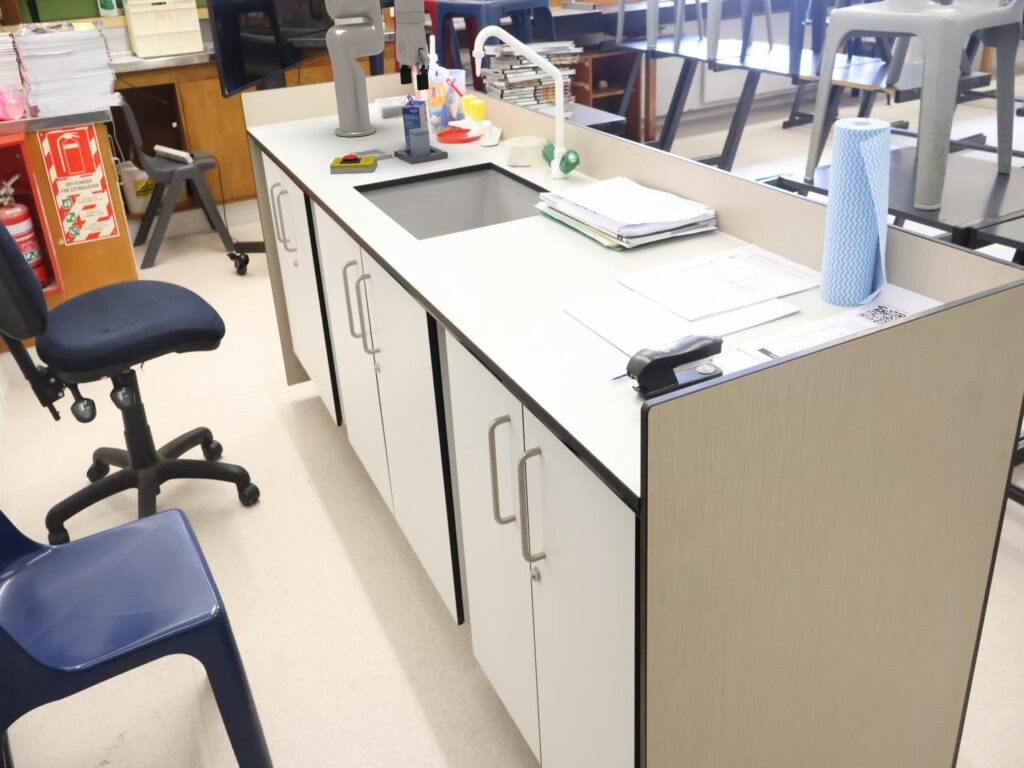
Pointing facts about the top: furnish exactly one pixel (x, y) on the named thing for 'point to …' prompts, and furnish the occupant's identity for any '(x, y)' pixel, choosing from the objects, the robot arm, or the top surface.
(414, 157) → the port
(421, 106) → the ink cartridge box
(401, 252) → the top surface
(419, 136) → the plug
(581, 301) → the top surface
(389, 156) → the grey square tray
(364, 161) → the emergency button
